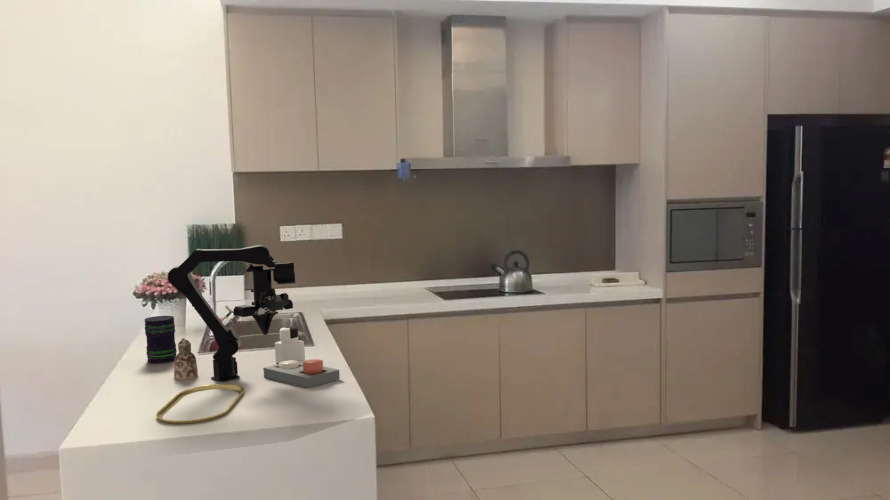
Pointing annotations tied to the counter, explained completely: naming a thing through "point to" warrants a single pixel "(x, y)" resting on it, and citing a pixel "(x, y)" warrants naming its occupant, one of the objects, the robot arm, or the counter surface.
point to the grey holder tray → (301, 375)
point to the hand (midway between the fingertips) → (265, 334)
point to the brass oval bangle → (193, 390)
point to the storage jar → (160, 339)
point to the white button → (288, 364)
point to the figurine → (185, 362)
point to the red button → (312, 367)
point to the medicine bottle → (289, 346)
